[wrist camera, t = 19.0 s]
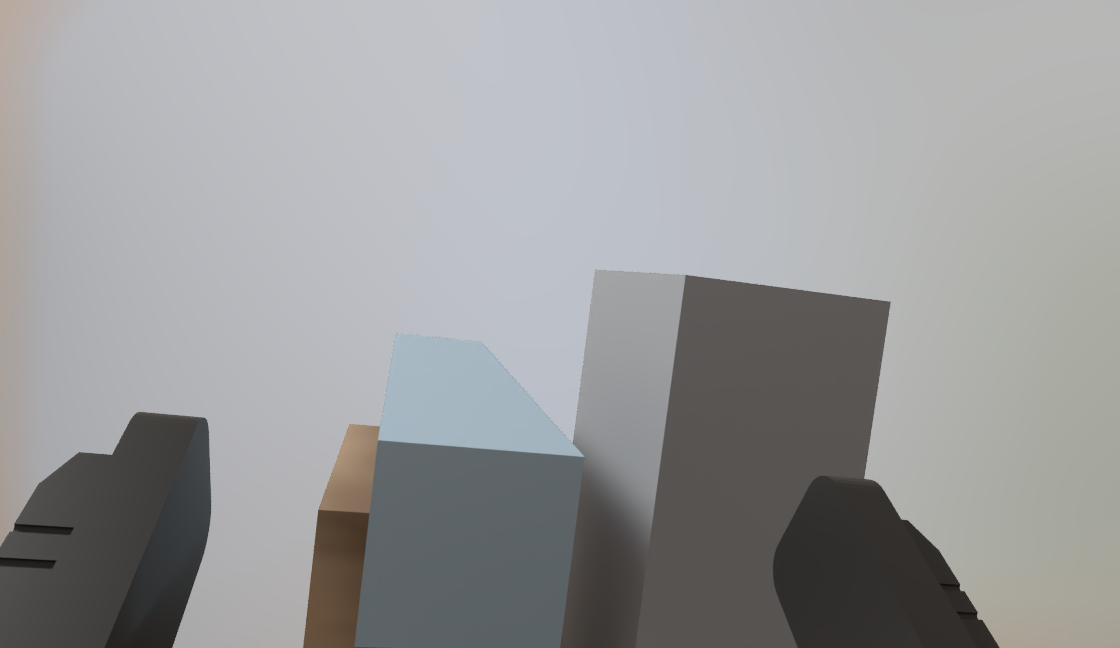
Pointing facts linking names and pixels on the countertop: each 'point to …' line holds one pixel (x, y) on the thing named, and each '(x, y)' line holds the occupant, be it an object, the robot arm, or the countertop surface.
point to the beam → (466, 507)
